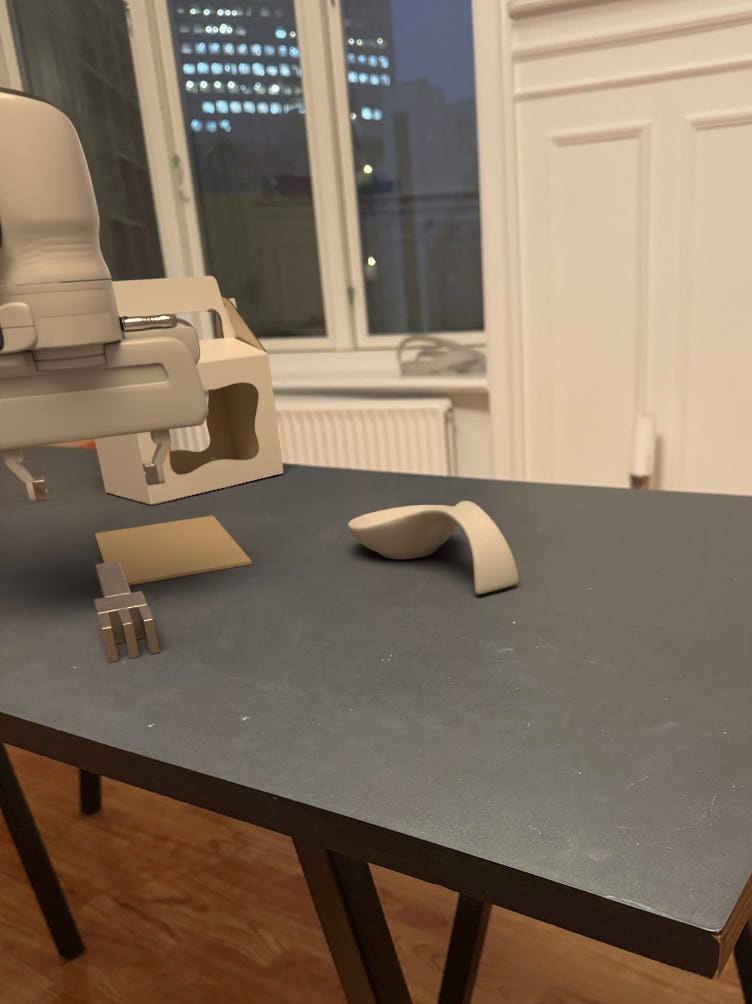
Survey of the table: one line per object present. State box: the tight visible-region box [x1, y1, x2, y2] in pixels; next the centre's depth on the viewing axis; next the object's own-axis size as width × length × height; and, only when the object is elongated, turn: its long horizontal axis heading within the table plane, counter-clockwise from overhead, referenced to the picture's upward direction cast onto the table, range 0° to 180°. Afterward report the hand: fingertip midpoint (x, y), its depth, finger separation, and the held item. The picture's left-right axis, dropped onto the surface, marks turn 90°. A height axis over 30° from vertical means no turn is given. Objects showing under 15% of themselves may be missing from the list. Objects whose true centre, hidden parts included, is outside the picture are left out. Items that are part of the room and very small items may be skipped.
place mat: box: [94, 515, 253, 587], centre depth 103 cm, size 22×14×1 cm, turn 25°
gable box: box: [94, 275, 285, 506], centre depth 129 cm, size 22×13×28 cm, turn 137°
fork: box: [93, 561, 161, 663], centre depth 82 cm, size 19×4×3 cm, turn 25°
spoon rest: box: [347, 500, 519, 595], centre depth 93 cm, size 24×12×7 cm, turn 34°
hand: (99, 491), depth 79 cm, fingers open, 8 cm apart
